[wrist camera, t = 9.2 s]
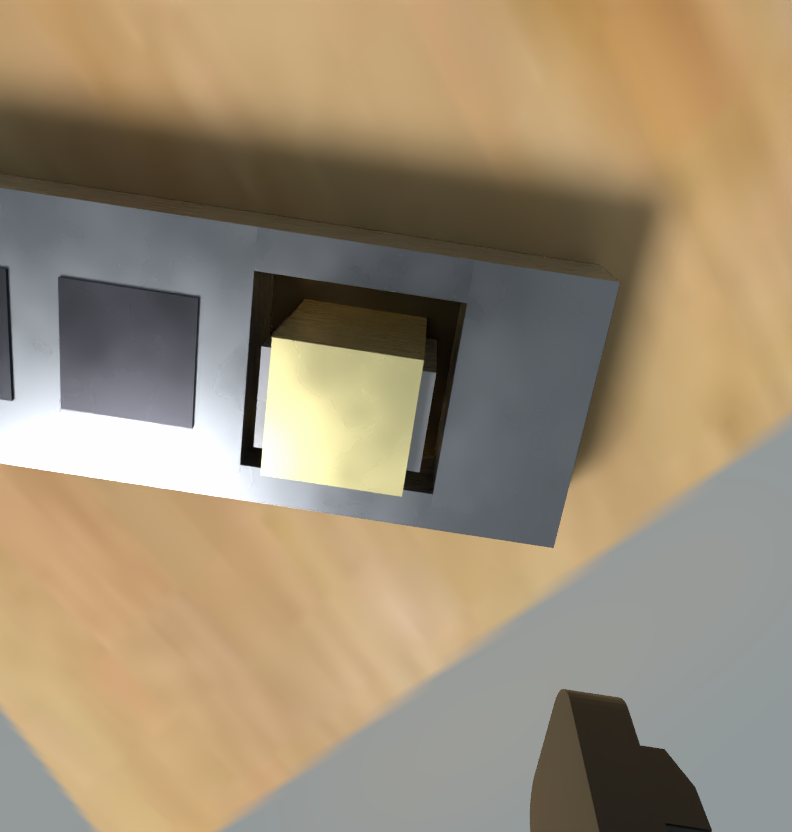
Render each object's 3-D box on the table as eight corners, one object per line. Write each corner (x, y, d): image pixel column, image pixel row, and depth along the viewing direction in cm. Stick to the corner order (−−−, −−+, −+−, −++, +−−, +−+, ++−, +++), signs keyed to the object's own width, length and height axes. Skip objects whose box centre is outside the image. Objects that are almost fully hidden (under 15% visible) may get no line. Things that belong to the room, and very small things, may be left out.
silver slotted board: (-103, 157, 23) (-180, 160, 20) (598, 264, 23) (621, 282, 20) (-79, 408, 26) (-144, 442, 23) (541, 503, 26) (554, 549, 23)
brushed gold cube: (292, 296, 24) (256, 334, 19) (439, 319, 24) (439, 362, 19) (282, 411, 25) (246, 472, 21) (420, 432, 25) (416, 498, 21)
